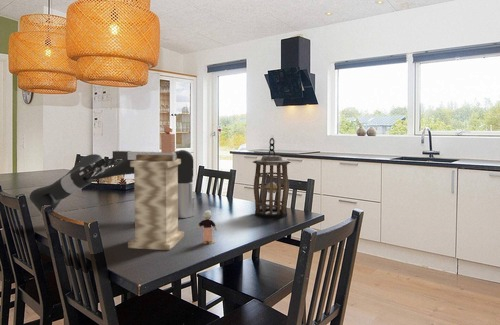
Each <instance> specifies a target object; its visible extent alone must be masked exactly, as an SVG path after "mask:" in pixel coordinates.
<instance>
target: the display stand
mask: <svg viewBox="0 0 500 325" xmlns="http://www.w3.org/2000/svg"><path fill="white" fill-rule="evenodd" d="M179 164H181V159H177V155H176V160H175V161H173V156H171V155H136V160H135V161H130V167H134V174H133V176H134V177H133V178H134V180H133V182H134V183H133V184H134V186H133V187H134V238H132V239H131V240H130V241H129V242H127V249H138V250H140V249H141V250H159V251H161V250H162V251H170V250H172V249H173V248H174V247H175V246H176V245H177V244H178V243H179V242H180V241H181V240H182V239H183V238H184V237H185V231H183V230H181V231H180V230H179V218H178V165H179Z"/></svg>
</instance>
